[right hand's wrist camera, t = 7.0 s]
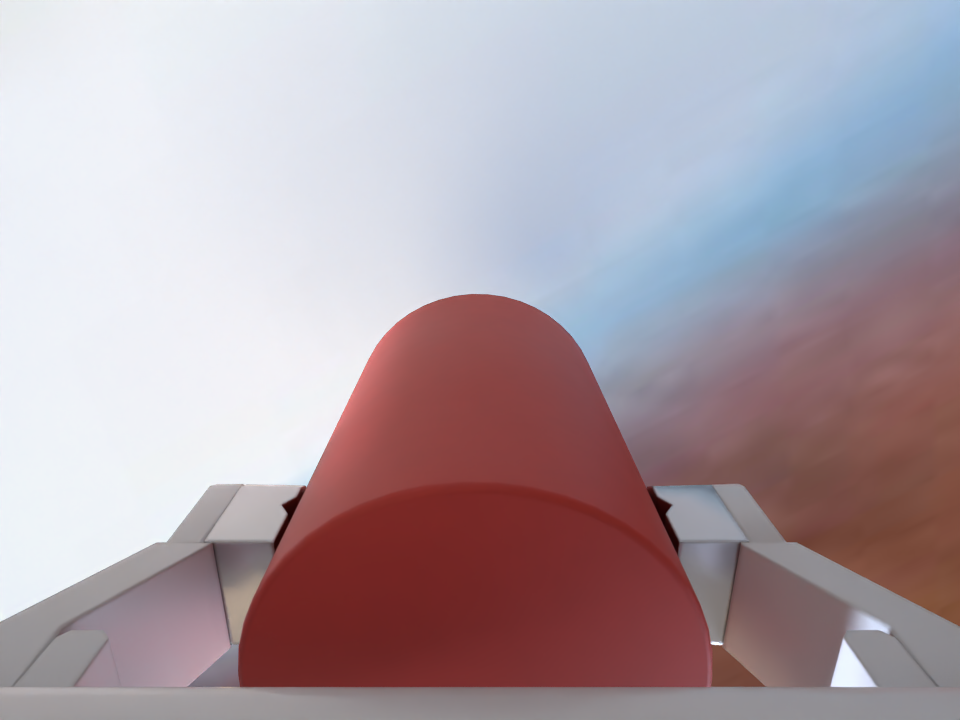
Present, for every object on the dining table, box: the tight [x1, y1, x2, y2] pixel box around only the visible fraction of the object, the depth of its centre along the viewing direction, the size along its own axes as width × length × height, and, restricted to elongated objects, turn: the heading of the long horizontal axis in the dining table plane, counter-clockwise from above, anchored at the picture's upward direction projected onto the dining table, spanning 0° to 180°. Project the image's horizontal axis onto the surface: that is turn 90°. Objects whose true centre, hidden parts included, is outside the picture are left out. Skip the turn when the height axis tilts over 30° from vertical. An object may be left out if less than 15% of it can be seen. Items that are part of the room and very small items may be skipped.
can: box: [238, 294, 713, 687], centre depth 11 cm, size 6×6×8 cm
